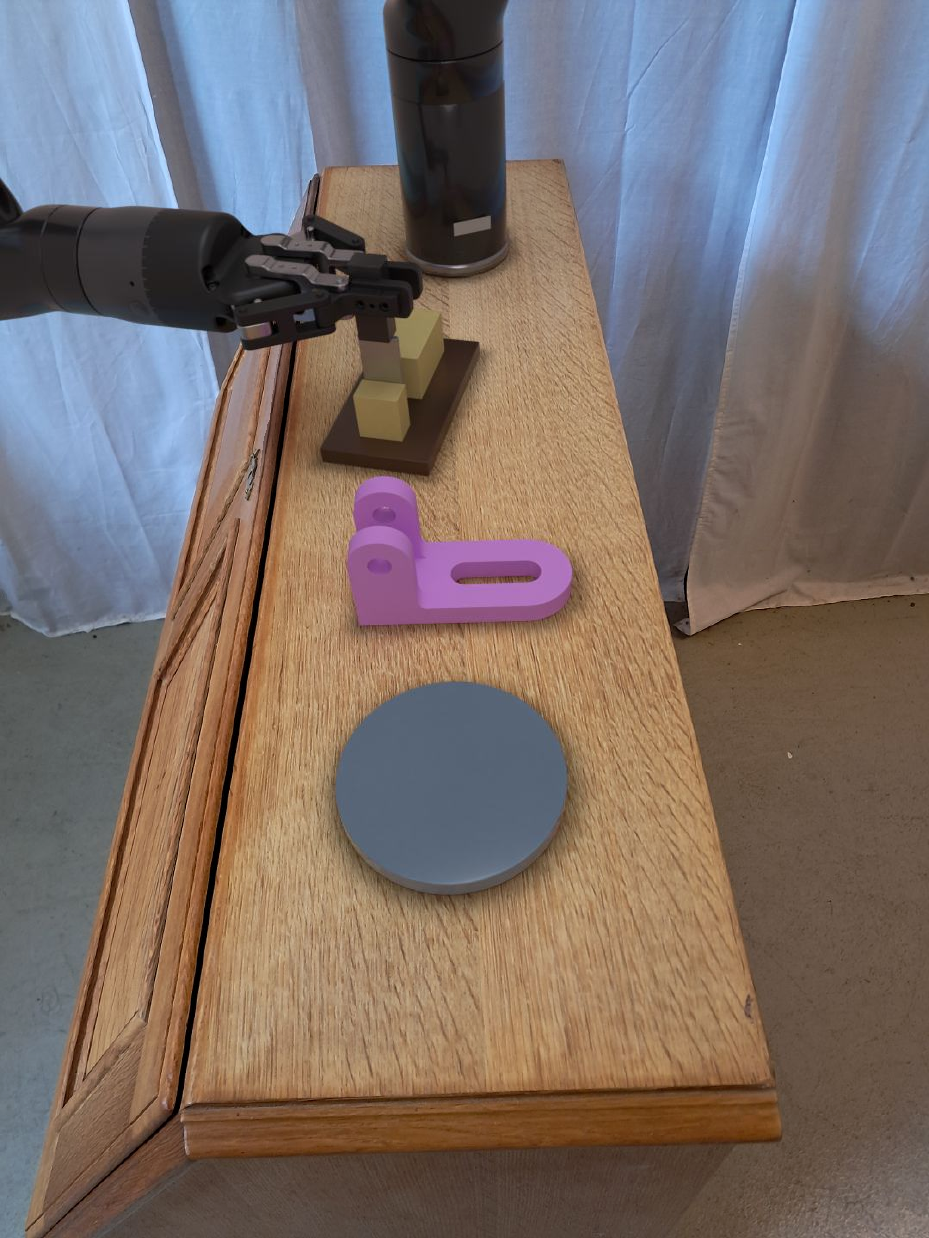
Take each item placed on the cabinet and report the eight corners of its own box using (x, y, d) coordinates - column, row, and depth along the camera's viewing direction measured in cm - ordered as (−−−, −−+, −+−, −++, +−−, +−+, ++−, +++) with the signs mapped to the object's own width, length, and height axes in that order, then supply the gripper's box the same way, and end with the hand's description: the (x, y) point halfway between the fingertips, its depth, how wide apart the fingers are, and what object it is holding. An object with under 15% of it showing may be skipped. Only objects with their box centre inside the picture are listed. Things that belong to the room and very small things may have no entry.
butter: (405, 346, 73) (401, 307, 70) (444, 351, 72) (441, 310, 69) (381, 395, 69) (375, 354, 66) (421, 399, 68) (417, 359, 65)
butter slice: (368, 419, 67) (361, 379, 64) (410, 424, 66) (405, 384, 64) (359, 436, 66) (352, 396, 63) (402, 442, 65) (397, 401, 62)
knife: (374, 411, 67) (349, 251, 58) (411, 415, 67) (392, 254, 57) (367, 424, 66) (341, 264, 57) (404, 429, 66) (384, 268, 56)
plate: (379, 677, 53) (376, 664, 52) (584, 714, 51) (585, 701, 50) (305, 865, 46) (300, 855, 45) (541, 920, 43) (542, 909, 42)
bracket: (359, 625, 56) (341, 544, 50) (366, 559, 59) (350, 477, 54) (574, 619, 55) (579, 537, 50) (568, 553, 59) (572, 469, 53)
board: (385, 344, 75) (383, 331, 74) (480, 354, 74) (479, 341, 73) (322, 462, 66) (319, 449, 65) (428, 476, 64) (427, 463, 63)
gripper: (98, 269, 54) (375, 294, 51) (197, 166, 63) (440, 182, 59) (139, 376, 60) (390, 405, 57) (225, 269, 69) (448, 288, 65)
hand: (415, 291), depth 58 cm, fingers closed on knife, 1 cm apart
